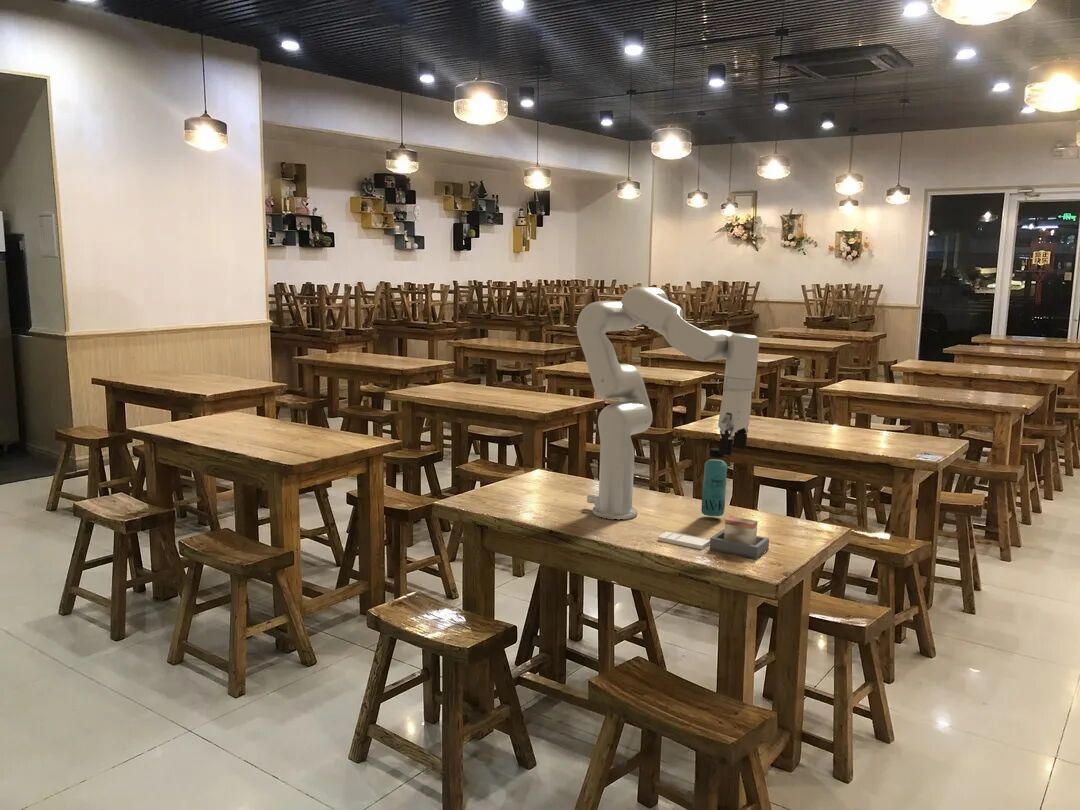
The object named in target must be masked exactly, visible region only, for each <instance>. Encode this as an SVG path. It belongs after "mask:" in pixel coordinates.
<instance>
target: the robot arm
mask: <svg viewBox="0 0 1080 810" xmlns="http://www.w3.org/2000/svg"><path fill="white" fill-rule="evenodd" d="M683 318H684V313H683V309H682V307H680V306H679V305H677V304H675V303H673V302H671V301H669V297H668V296H667V294H666V293H665V291H664V290H663V289H660V288H659V287H655V286H654V287H653V286H635V287H631V288H630V289H628V290H626V292H625V293H624V294H623V295H622V297H621V300H599V301H594V302H590V303H589V304H587V305H586V306H584V308H583V309H581V312H580V313H579V315H578V318H577V320H576V321H577V322H576V334H577V338H578V341H579V343H580V346H581V349H582V352H583V355H584V358H585V362H586V365H587V369H588V373H589V375H590V379H591V383H592V387H593V389H594V392H595V394H596V396H597V397H598V398H600V399H602V400H614V399H618V401H619V402H616V403H611V404H609V405H607V406H604V407H603V408H602V410H601V411H600V412H599V415H598V418H597V427H598V433H599V443H600V444H599V446H600V448H599V451H600V453H599V476H598V477H599V478H598V479H599V481H598V483H599V484H598V494H597V495H595V494H590V493H589V494H588V495H587V497H586V502H587V503H589V504H593V505H594V506H593V507H592V511H591V513H592V514H593V515H594V516H596V517H598V518H601V517H602V519H606V518H607V520H614V519H617V520H618V521H619V520H620V519H623V520H630V519H634V518H635V517H637V516H638V509H636V508H635V507H633V495H634V493H633V492H634V473H635V472H634V470H635V469H634V468H635V448H634V447H635V446H634V444H633V441H632V437H631V436H633V435H637V434H641V433H644V432H646V431H647V430H648V429H649V428H650V427H651V425H652V423H653V411H652V407H651V402H650V399H649V395H648V393H647V389H646V384H645V382H644V377H642V374H641V373H640V371H639V369H637V367H635V366H634V365H632V364H628V363H619V360H618V356H617V355H616V350H615V347H614V345H613V344H612V342H611V340H610V339H609V337H607V335H606V333H607V332H623V331H627V330H630V329H633V328H636V327H638V326H642V325H644V326H646V327H647V328H650V329H651V330H653V331H655V332H657V333H658V334H660V335H662V336H663V338H664V339H665V340H666V342H667V343H668V344H669V345H670V346H671V347H672V348H673V349H675V350H676V351H679V352H680V353H682V354H684V355H685V356H687V357H689V358H691V359H693V360H696V361H699V362H700V361H701V362H711V361H720V360H725V366H724V367H725V368H724V378H723V379H724V380H723V394H722V397H721V398H722V399H721V403H720V408H719V409H720V410H719V415H718V421H717V422H718V423H717V427H718V428H719V429H720V430H719V433H720V434H719V443H718V444H719V445H718V448H719V454H723V455H724V456H732V454H733V448H736V449H742V450H745V449H746V448H747V440H748V432H749V428H748V427H749V425H750V421H751V419H750V418H751V412H752V393H753V392H755V387H756V378H757V370H758V360H759V359H758V358H759V351H760V350H759V349H760V339H759V337H758V336H757V335H754V334H749V333H748V334H747V333H735V332H733V331H728V330H725V329H711V330H709V329H708V330H703V329H701V328H698V327H697V326H695V325H693V324H691V323H689V322H687V321H686V320H685V319H683Z"/></svg>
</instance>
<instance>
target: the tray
mask: <svg viewBox="0 0 1080 810" xmlns="http://www.w3.org/2000/svg"><path fill="white" fill-rule="evenodd" d="M724 532H725V528H724V529H722V530H720V531H719V532H717V533H715V534H714V535H712V536H711V537H710V538H709V539H710V545H709V550H710V551H715V552H718V551H719V552H718V553H723V552H724V554H728V553H730V554H729V555H733V554H735V555H734V556H738V555H740V556H739V557H743V556H745V557H744V558H747V557H749V558H748V559H752V558H755V559H754V560H758V559H759V558H760V557H762V556H763V555H764V554H765V553H766V552H767V550H768V551H769V548H770V547H769V546H770V538H769V537H766V536H761V535H756V545H755V546H754V545H749V544H744V543H739V542H734V541H729V540H724ZM765 551H766V552H765ZM764 552H765V553H764ZM763 553H764V554H763ZM762 554H763V555H762ZM761 555H762V556H761ZM757 558H758V559H757Z"/></svg>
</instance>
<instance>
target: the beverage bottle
mask: <svg viewBox="0 0 1080 810" xmlns="http://www.w3.org/2000/svg"><path fill="white" fill-rule="evenodd" d="M708 456H709V457H710V458H711V459H708V460H707V461H706V462H705V463H704V471H703V481H702V482H703V484H702V492H701V494H702V496H701V509H700V510H701V514H703V515H704V516H706V517H707V516H708V517H723V515H724V513H725V509H726V508H725V507H726V505H725V504H726V493H727V488H726V487H727V473H728V464H727V463H726V462H725V461H724V460H722V459H720V458H724V457H725V455H723V454H719V447H712V448H710V449H709V453H708ZM712 458H713V459H712ZM714 458H716V459H714ZM718 458H719V459H718Z"/></svg>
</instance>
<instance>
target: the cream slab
mask: <svg viewBox="0 0 1080 810" xmlns="http://www.w3.org/2000/svg"><path fill="white" fill-rule="evenodd" d="M657 541H659V542H664V543H669V544H673V545H679V546H684V547H688V548H693V549H697V550H703V549H705V548H707V547H708V546H710V545H709V544H710V538H705V537H700V536H695V535H691V534H685V533H680V532H676V531H670V530H667V531H665V532H663V533H662V534H660V535H659V536H657Z"/></svg>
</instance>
